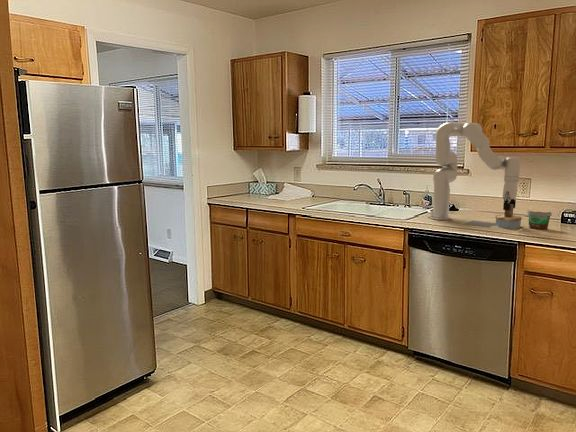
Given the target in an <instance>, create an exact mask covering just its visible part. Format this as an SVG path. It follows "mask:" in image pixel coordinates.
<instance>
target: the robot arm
mask: <svg viewBox="0 0 576 432" xmlns="http://www.w3.org/2000/svg"><path fill="white" fill-rule="evenodd" d="M451 137H464V138H465V139H467V140H468V141H469V142H470V144H472V146H473V147H474V149H475V150H476V152H477V154H478V157H479V158H480V159H481V161H482V162H483V163H484V165H486V166H487V167H488V168H489V169H490V170H493V171H496V170H498V171H499V170H504V176H503V177H504V178H503V179H504V180H503V182H504V185H503V191H502V199H503V206H502V207H503V208H502V210H503V211H505V210H509V209H510V204H514V206H513V209H516V204H517V203H516V201H517V196H518V195H517V194H518V183H519V182H520V181H519V180H520V169H521V158H520V157H518V156H503V155H498V156H497V154H496V153H495V152H494V151H493V150H492V148H491V147H490V139H489V138H488V137H487V136H486V135H485V133H483V127H482V125H481V124H480V123H478V122H477V123H476V122H453V121H449V122H445V123H443V124H441V125H440V126H439V127H437V130H436V133H435V164H437V165H438V166H439V167H442V168H439V169H436V171H435V172H434V174H433V176H432V178H433V180H432V181H433V202H432V203H433V205H432V210H427V215H430V217H429V218H430V219H431V220H437V221H446V220H451V219H452V216H450V215H449V213H450V198H451V188H450V183H453V182H455V180H457V177H458V156H457V154H456V152H454V151H453V150H451V140H450V138H451Z"/></svg>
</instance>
